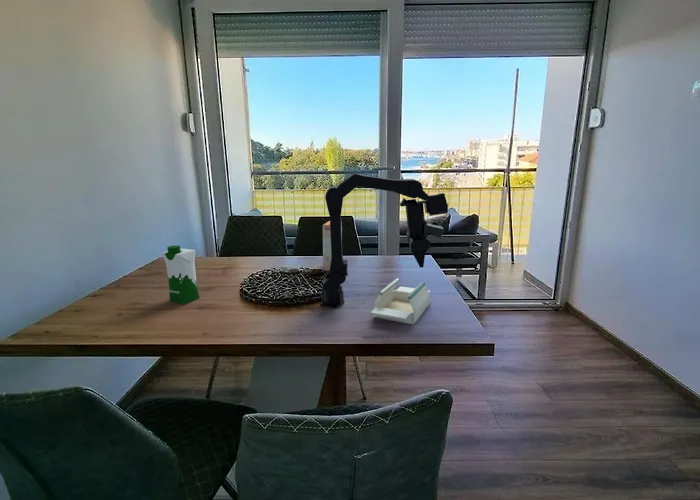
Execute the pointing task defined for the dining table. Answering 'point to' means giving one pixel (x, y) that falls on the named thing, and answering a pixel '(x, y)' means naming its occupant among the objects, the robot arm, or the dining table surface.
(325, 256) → the cracker box
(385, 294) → the flap
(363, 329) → the dining table surface
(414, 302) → the flap
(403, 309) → the carton
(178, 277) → the milk carton
